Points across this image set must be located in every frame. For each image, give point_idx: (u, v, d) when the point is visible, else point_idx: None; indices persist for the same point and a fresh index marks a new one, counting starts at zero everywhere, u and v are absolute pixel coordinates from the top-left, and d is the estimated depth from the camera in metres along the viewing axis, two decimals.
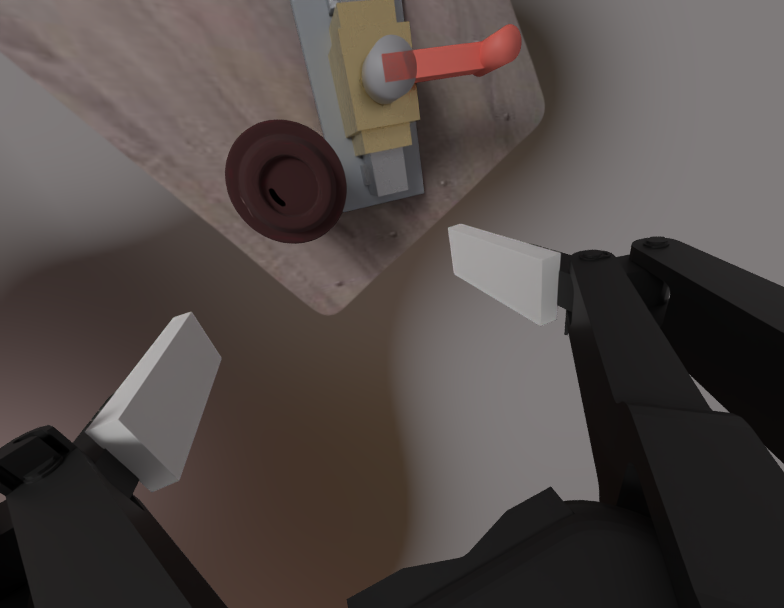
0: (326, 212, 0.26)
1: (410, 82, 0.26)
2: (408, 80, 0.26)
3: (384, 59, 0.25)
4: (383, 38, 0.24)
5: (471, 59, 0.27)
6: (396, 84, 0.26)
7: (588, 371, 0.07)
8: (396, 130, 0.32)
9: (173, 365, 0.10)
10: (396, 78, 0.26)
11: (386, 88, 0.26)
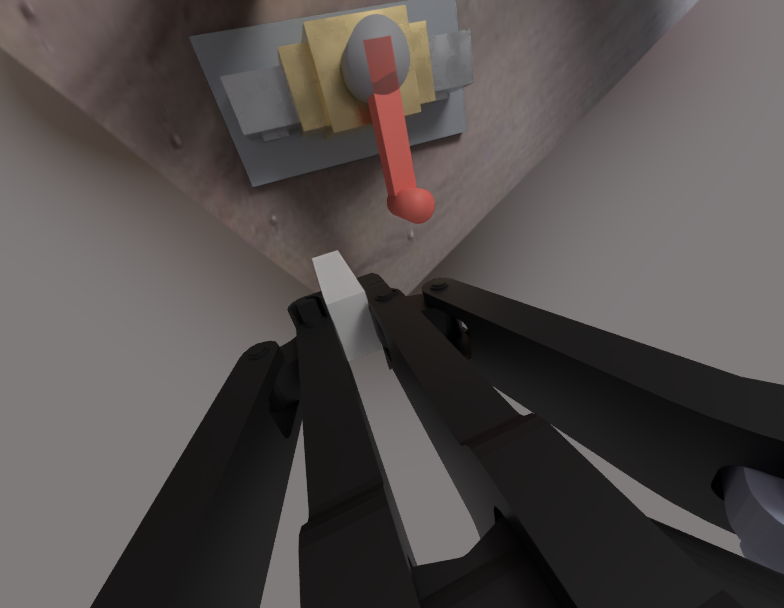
0: None
1: (368, 84, 0.20)
2: (369, 81, 0.20)
3: (385, 40, 0.20)
4: (405, 40, 0.20)
5: (400, 176, 0.24)
6: (363, 60, 0.20)
7: (423, 408, 0.07)
8: (316, 104, 0.24)
9: None
10: (369, 59, 0.20)
11: (356, 41, 0.19)
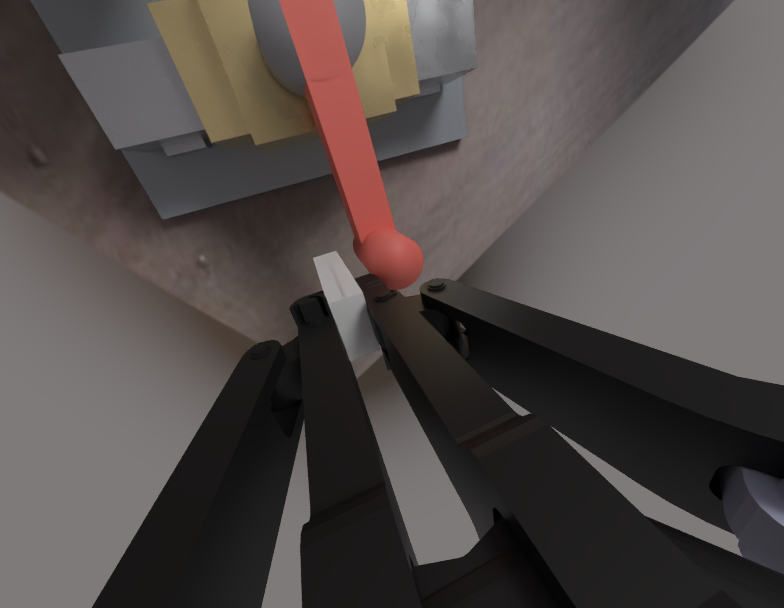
0: None
1: (293, 64, 0.12)
2: (296, 58, 0.12)
3: None
4: None
5: (367, 213, 0.15)
6: (278, 19, 0.11)
7: (421, 409, 0.07)
8: (228, 99, 0.15)
9: None
10: (289, 17, 0.11)
11: None
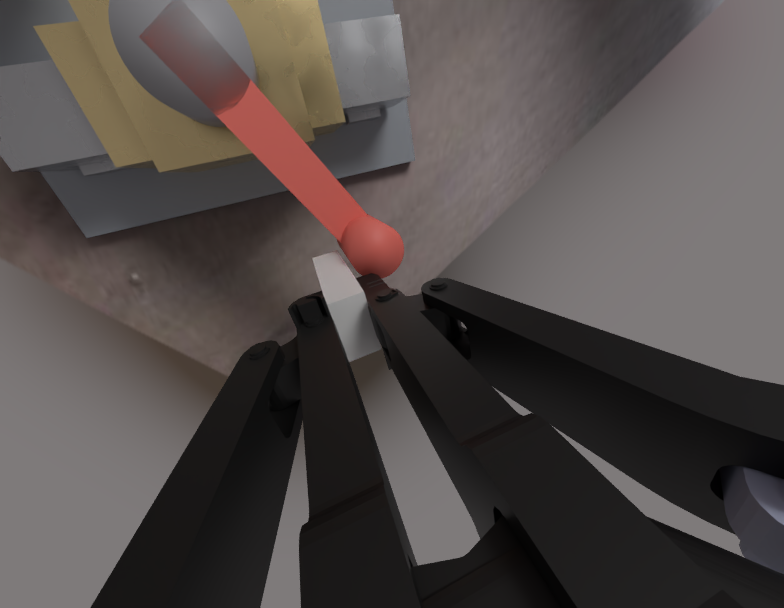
0: None
1: (197, 106, 0.11)
2: (196, 99, 0.11)
3: (175, 10, 0.10)
4: None
5: (333, 212, 0.15)
6: (162, 71, 0.11)
7: (422, 408, 0.07)
8: (132, 124, 0.15)
9: None
10: (171, 63, 0.11)
11: (130, 46, 0.10)
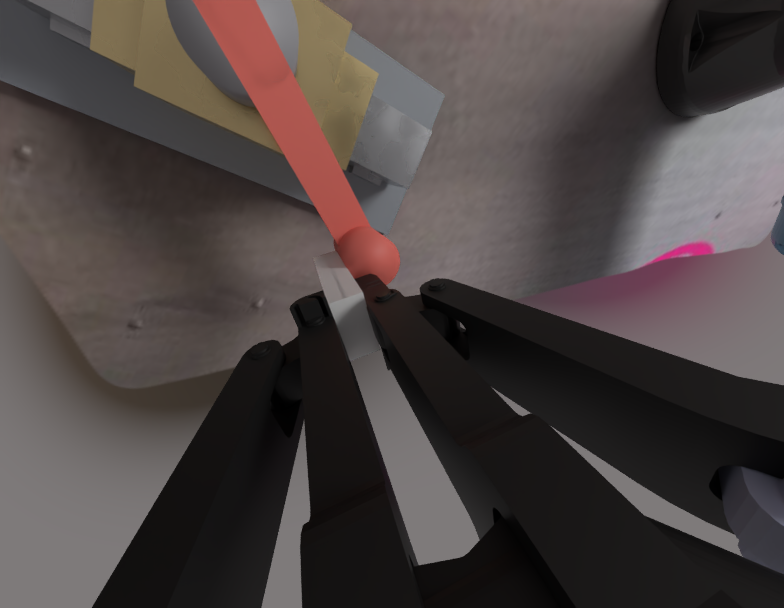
0: None
1: (231, 80, 0.11)
2: (232, 73, 0.11)
3: None
4: None
5: (338, 215, 0.15)
6: (206, 37, 0.11)
7: (421, 408, 0.07)
8: (140, 31, 0.13)
9: None
10: (217, 32, 0.11)
11: (180, 4, 0.10)
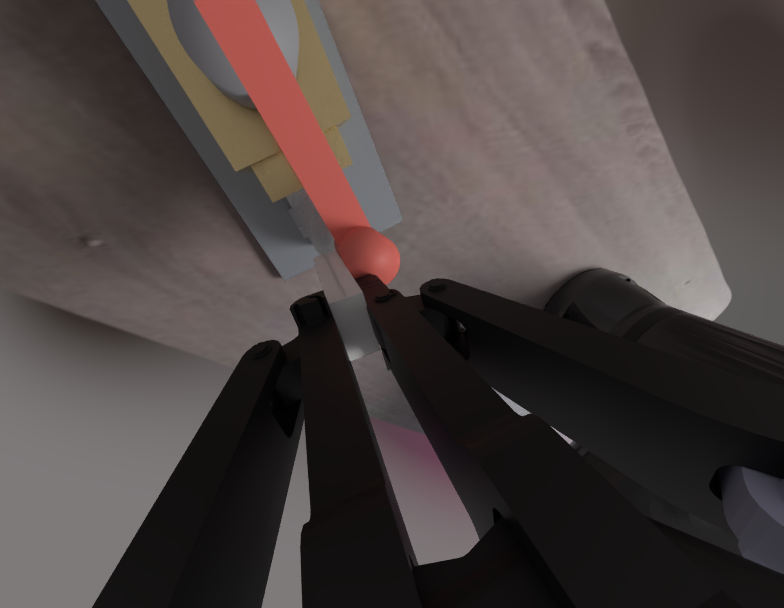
0: None
1: (232, 81, 0.11)
2: (233, 74, 0.11)
3: None
4: None
5: (338, 215, 0.15)
6: (207, 39, 0.11)
7: (421, 409, 0.07)
8: None
9: None
10: (218, 34, 0.11)
11: (182, 7, 0.10)
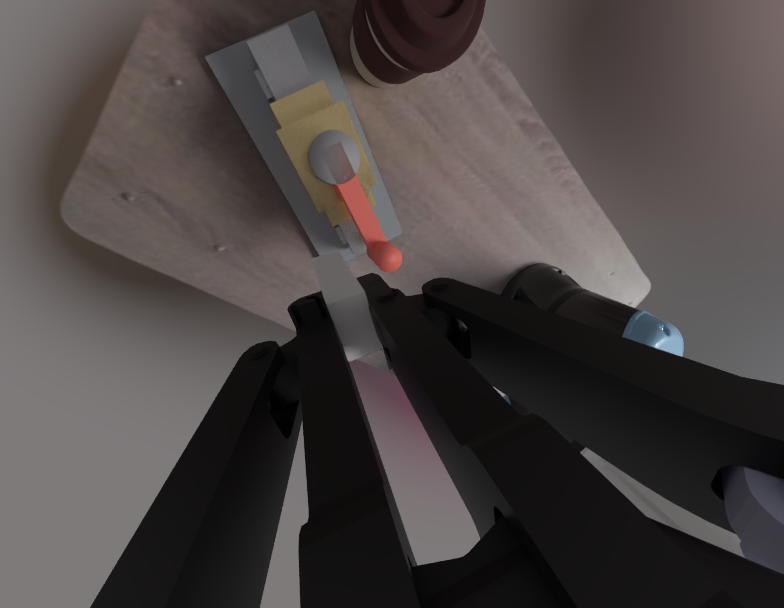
0: None
1: (331, 179, 0.26)
2: (331, 177, 0.26)
3: (337, 145, 0.26)
4: (352, 140, 0.26)
5: (371, 236, 0.30)
6: (323, 164, 0.26)
7: (423, 408, 0.07)
8: (295, 116, 0.28)
9: None
10: (327, 162, 0.26)
11: (315, 154, 0.25)
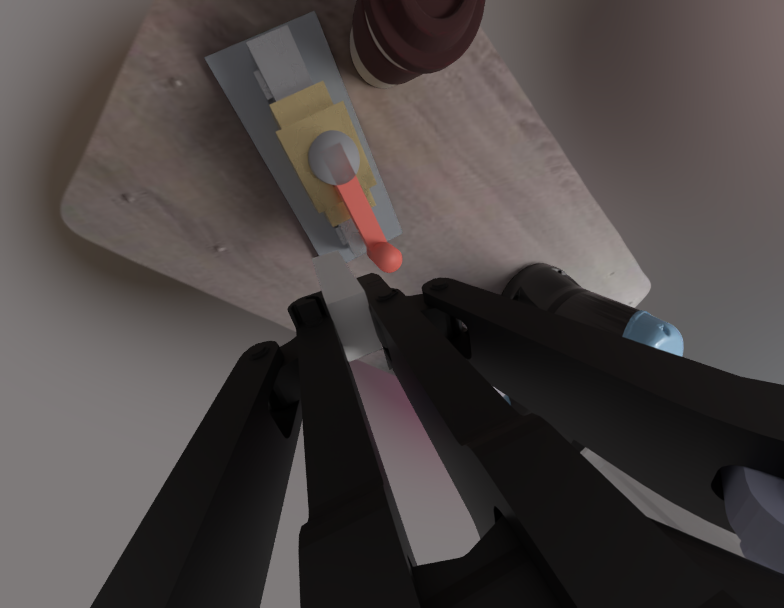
0: None
1: (331, 180, 0.26)
2: (331, 177, 0.26)
3: (337, 146, 0.26)
4: (351, 141, 0.26)
5: (371, 236, 0.30)
6: (323, 165, 0.26)
7: (423, 408, 0.07)
8: (295, 117, 0.28)
9: None
10: (327, 163, 0.26)
11: (315, 154, 0.25)
